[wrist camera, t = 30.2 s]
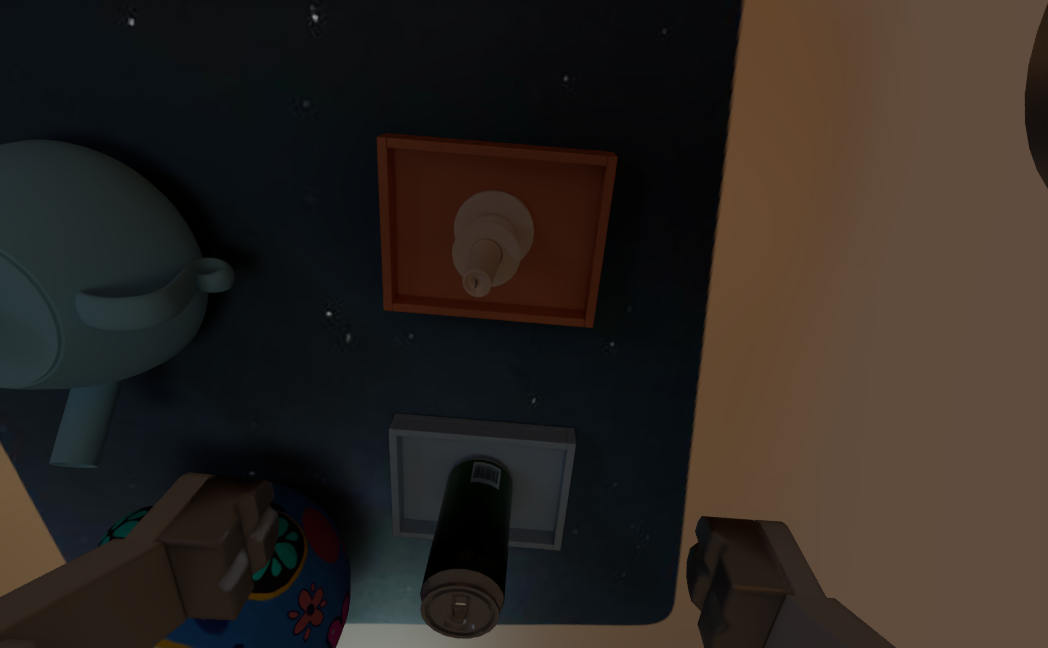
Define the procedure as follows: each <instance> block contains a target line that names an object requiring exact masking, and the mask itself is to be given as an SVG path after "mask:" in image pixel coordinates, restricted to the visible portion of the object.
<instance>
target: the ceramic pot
mask: <svg viewBox="0 0 1048 648" xmlns="http://www.w3.org/2000/svg"><path fill="white" fill-rule="evenodd" d="M272 486H273V490H274V495H275V497H274V498H273V500H272V501H271V503H270V505H269V506H270V507H271V508H272V509H273V510H274V511H275V512H276V513H277V514H278V519H279V534H278V539H277V542H276V546H275V549H274V552H273V554H272V556H271V558H270V560H269V562H268V564H267V565H266V566H265V567H264V568H262V569H261V570H259V571H258V572H256V573H255V574H253V575H252V577H253V582H254V588H253V590H252V592H251V594H250V596H249V597H248V599H247V601H246V603H245V604H244V606H243V608H242V610H241V611H240V613H239V615H238V617H237V618H236V620H219V619H200V618H186V621H185V622H184V623H183V624H181V625H180V626H179V627H178V628H176V629H175V630H174V631H173V632H171V633H170V634H169V635H168V636H166V637H165V638H164V639H163V640H161V641H160V642H159V643H158V644H156V645H155V646H154V647H153V648H336V646H337V644H338V641H339V639H340V636H341V633H342V630H343V627H344V625H345V622H346V619H347V615H348V611H349V604H350V564H349V559H348V555H347V551H346V547H345V545H344V543H343V541H342V538H341V536H340V534H339V531H338V529H337V527H336V525H335V523H334V522H333V520H332V519H331V518H330V517H329V516H328V515H327V514H326V513H325V511H324V510H323V509H322V508H321V507H320V506H319V505H317V504H316V503H315V502H314V501H312V500H311V499H309V498H307V497H306V496H304V495H303V494H301V493H299V492H297V491H295V490H292V489H290V488H287V487H285V486H282V485H278V484H275V483H272ZM152 507H153V506H149V507H145V508H141V509H139V510H136V511H133V512H131V513H130V514H128V515H127V516H125V517H124V518H122V519H121V520H119V521H118V522H117V523H115V524H114V525H113V526H112V527H111V528H110V529H109V530H108V531H107V533H106V534H105V535H104V536H103V538H102V539H101V541H100V543H99V545H98V547H99V546H101V545H103V544H105V543H107V542H109V541H111V540H113V539H124V538H125V537H126V536H127V535H128V534H129V533H130V531H131V530H132V529H133V528H134V527H135V526H136V525H137V524H138V523H139V522H140V520H141V519H142V518H143V517H144V516H145V515H146V514H147V513H148V512H149V511H150V509H151V508H152Z"/></svg>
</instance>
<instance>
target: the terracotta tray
mask: <svg viewBox="0 0 1048 648" xmlns="http://www.w3.org/2000/svg"><path fill="white" fill-rule="evenodd" d="M377 157H378V181H379V205H380V229H381V253H382V278H383V302H384V310H386V311H392V310H393V311H398V312H410V313H422V314H434V315H446V316H458V317H470V318H482V319H494V320H506V321H517V322H529V323H541V324H553V325H565V326H577V327H589V328H593V324H594V317H595V310H596V303H597V296H598V289H599V283H600V276H601V269H602V262H603V255H604V248H605V242H606V235H607V228H608V221H609V214H610V207H611V201H612V194H613V187H614V180H615V173H616V166H617V160H618V157H617V156H616V155H615V153H614V152H607V151H596V150H584V149H572V148H560V147H548V146H536V145H524V144H512V143H500V142H488V141H476V140H464V139H453V138H441V137H429V136H417V135H405V134H393V133H385V134H383V135H380V136H378V137H377ZM485 190H500V191H505V192H508V193H510V194H512V195H514V196H516V197H517V198H518V199H519V200H521V201H522V202H523V203H524V204H525V206H526V207H527V208H528V210H529V211H530V214H531V216H532V219H533V223H534V237H533V243H532V245H531V247H530V250H529V252H528V253H527V254H526V255H525V257H524V258H523V259H522V260H521V261H520V264H519V266H518V269H517V271H516V273H515V274H514V275H513V276H512V278H511V279H509V280H508V281H507V282H505V283H504V284H501V285H498V286H496V287H491V289H490V291H489V293H488V294H487V295H485V296H483V297H474V296H472V295H470V294H469V293H467V291H466V290H465V289H464V286H463V277H462V276H461V275H460V274H459V272H458V271H457V269H456V267H455V265H454V263H453V258H452V248H453V244H454V241H455V235H454V222H455V218H456V215H457V213H458V210H459V209H460V207H461V206H462V205H463V203H464V202H465V201H466V200H467V199H469V198H470V197H471V196H472V195H474V194H476V193H479V192H481V191H485Z"/></svg>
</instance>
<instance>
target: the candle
mask: <svg viewBox="0 0 1048 648" xmlns="http://www.w3.org/2000/svg"><path fill="white" fill-rule="evenodd" d="M454 235H455V241H454V244H453V248H452V258H453V263H454V265H455V267H456V269H457V271H458V272H459V274H460V275H461V276H462V277H463V286H464V289H465V290H466V291H467V293H469V294H470V295H472V296H474V297H483V296H485V295H487V294H488V293H489V291H490V289H491V287H496V286H498V285H501V284H504V283H505V282H507V281H508V280H509V279H511V278H512V276H513V275H514V274H515V273H516V271H517V269H518V266H519V264H520V261H521V260H522V259H523V258H524V257H525V255H526V254H527V253H528V252H529V250H530V247H531V245H532V243H533V237H534V223H533V219H532V216H531V214H530V211H529V210H528V208H527V207H526V206H525V204H524V203H523V202H522V201H521V200H519V199H518V198H517V197H516V196H514V195H512V194H510V193H508V192H505V191H500V190H485V191H481V192H479V193H476V194H474V195H472V196H471V197H470V198H469V199H467V200H466V201H465V202H464V203H463V205H462V206H461V207H460V209H459V210H458V213H457V215H456V218H455V222H454Z"/></svg>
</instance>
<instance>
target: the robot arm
mask: <svg viewBox="0 0 1048 648" xmlns="http://www.w3.org/2000/svg"><path fill="white" fill-rule="evenodd" d="M274 497H275V495H274V490H273V486H272V483H271V482H269V481H267V480H260V479H251V478H242V477H233V476H224V475H209V474H200V473H191V472H189V473H187V474H185V475H183V476H181V477H180V478H179V479H178V480H177V481H176V482H175V483H174V484H173V485H172V486H171V487H170V488H169V490H168V491H167V492H166V493H165V494H164V495H163V496H162V497H161V498H160V500H159V501H158V502H157V503H156V504H155V505H154V506H153V507H152V508H151V509H150V511H149V512H148V513H147V514H146V515H145V516H144V517H143V518H142V519H141V520H140V522H139V523H138V524H137V525H136V526H135V527H134V528H133V529H132V530H131V531H130V533H129V534H128V535H127V536H126V537H125V538H124V539H113V540H111V541H109V542H107V543H105V544H103V545H101V546H99V547H97V548H95V549H94V550H92V551H90V552H88V553H86V554H84V555H82V556H80V557H78V558H76V559H74V560H72V561H70V562H68V563H66V564H64V565H62V566H60V567H59V568H56V569H55V570H52V571H51V572H49V573H47V574H45V575H43V576H41V577H39V578H37V579H35V580H33V581H31V582H29V583H27V584H25V585H23V586H21V587H19V588H17V589H15V590H14V591H12V592H10V593H8V594H6V595H4V596H2V597H0V648H153V647H154V646H155V645H156V644H158V643H159V642H160V641H161V640H163V639H164V638H165V637H166V636H168V635H169V634H170V633H171V632H173V631H174V630H175V629H176V628H178V627H179V626H180V625H181V624H183V623H184V622H185V621H186V618H200V619H219V620H236V618H237V617H238V615H239V613H240V611H241V610H242V608H243V606H244V604H245V603H246V601H247V599H248V597H249V596H250V594H251V592H252V590H253V588H254V582H253V577H252V575H253V574H255V573H256V572H258V571H259V570H261V569H262V568H264V567H265V566H266V565H267V564H268V562H269V560H270V558H271V556H272V554H273V552H274V549H275V546H276V542H277V539H278V534H279V519H278V514H277V513H276V512H275V511H274V510H273V509H272V508H271V507H270V506H269V505H270V503H271V501H272V500H273V498H274ZM695 533H696V536H697V539H698V543H696V544H695V545H694V546H693V547H691V548H690V551H689V555H688V559H687V575H686V577H687V584H688V590H689V594H690V598H691V601H692V602H693V603H694V604H695V605H696V606H697V607H698V609H699V610H701V615H700V618H699V621H698V627H699V630H700V634H701V637H702V641H703V644H704V648H895V647H894V646H893V645H892V644H890V642H888V641H887V640H886V639H885V638H883V637H882V636H880V635H879V634H878V633H877V632H876V631H875V630H873V629H872V628H871V627H870V626H868V625H867V624H866V623H865V622H863V621H862V620H861V619H860V618H858V617H857V616H856V615H855V614H854V613H852V612H851V611H850V610H849V609H847V608H846V607H845V606H843V605H842V604H841V603H840V602H839V601H837V600H836V599H834V598H826V596H825V594H824V592H823V590H822V588H821V587H820V585H819V583H818V581H817V579H816V577H815V576H814V574H813V572H812V570H811V568H810V567H809V565H808V563H807V561H806V559H805V557H804V555H803V554H802V552H801V550H800V548H799V546H798V544H797V543H796V541H795V539H794V537H793V535H792V533H791V532H790V530H789V528H788V526H787V525H785V524H784V523H783V522H778V521H763V520H755V521H754V520H748V519H733V518H721V517H720V518H719V517H707V516H702V517H701V518H700V520H699V521H698V523H697V526H696V530H695Z"/></svg>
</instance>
